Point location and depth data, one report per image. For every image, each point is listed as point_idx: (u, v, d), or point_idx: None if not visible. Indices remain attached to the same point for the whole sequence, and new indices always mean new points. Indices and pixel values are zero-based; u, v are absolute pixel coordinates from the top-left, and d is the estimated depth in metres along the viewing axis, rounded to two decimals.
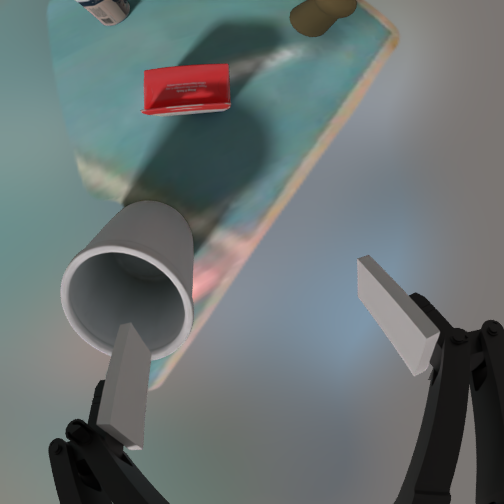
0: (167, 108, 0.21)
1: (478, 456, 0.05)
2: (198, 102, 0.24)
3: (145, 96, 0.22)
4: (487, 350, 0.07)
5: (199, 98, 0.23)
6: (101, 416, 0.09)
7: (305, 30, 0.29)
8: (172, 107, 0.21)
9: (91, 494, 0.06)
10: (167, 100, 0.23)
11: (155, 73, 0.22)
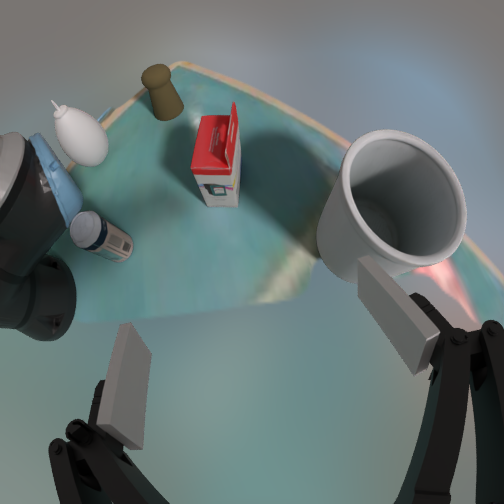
0: (228, 135, 0.29)
1: (478, 456, 0.05)
2: None
3: (214, 167, 0.31)
4: (487, 350, 0.07)
5: (226, 131, 0.32)
6: (101, 416, 0.09)
7: (178, 108, 0.46)
8: (228, 131, 0.29)
9: (91, 494, 0.06)
10: (222, 151, 0.31)
11: (196, 159, 0.31)
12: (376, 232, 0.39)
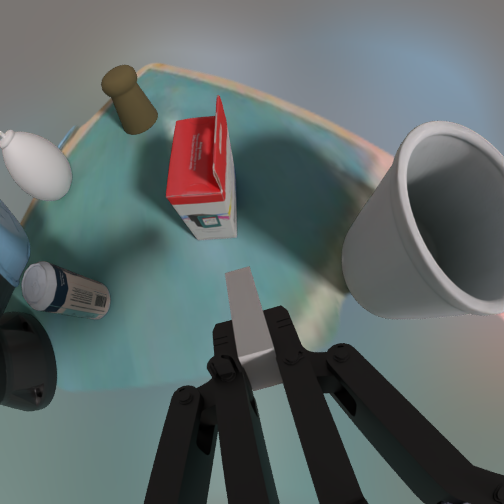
0: (215, 143, 0.19)
1: (395, 469, 0.07)
2: None
3: (199, 192, 0.21)
4: (343, 380, 0.09)
5: (211, 138, 0.23)
6: (242, 348, 0.11)
7: (150, 117, 0.37)
8: (215, 138, 0.19)
9: (198, 458, 0.08)
10: (208, 167, 0.22)
11: (172, 183, 0.22)
12: None
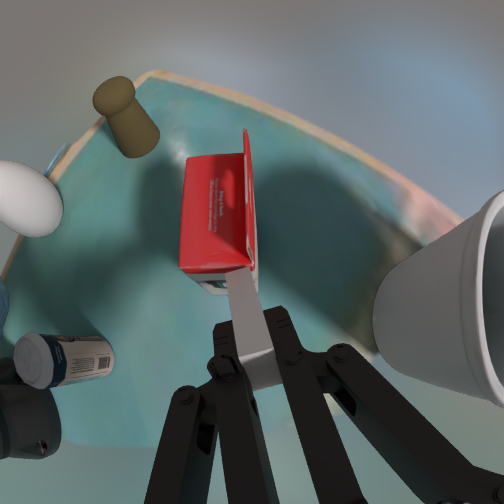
0: (247, 203, 0.15)
1: (395, 469, 0.07)
2: (241, 187, 0.18)
3: (223, 263, 0.17)
4: (343, 380, 0.09)
5: (235, 186, 0.18)
6: (242, 348, 0.11)
7: (151, 138, 0.33)
8: (246, 195, 0.15)
9: (198, 458, 0.08)
10: (234, 229, 0.17)
11: (186, 249, 0.17)
12: None
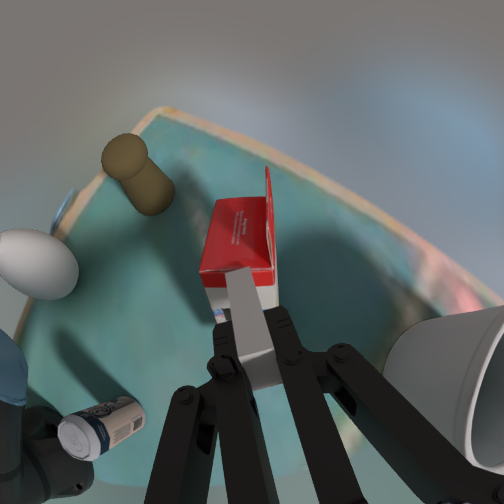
0: (268, 203, 0.17)
1: (395, 469, 0.07)
2: (263, 216, 0.21)
3: (243, 267, 0.17)
4: (343, 380, 0.09)
5: (258, 215, 0.21)
6: (241, 348, 0.11)
7: (167, 196, 0.33)
8: (267, 199, 0.17)
9: (198, 458, 0.08)
10: (255, 243, 0.19)
11: (208, 257, 0.18)
12: None
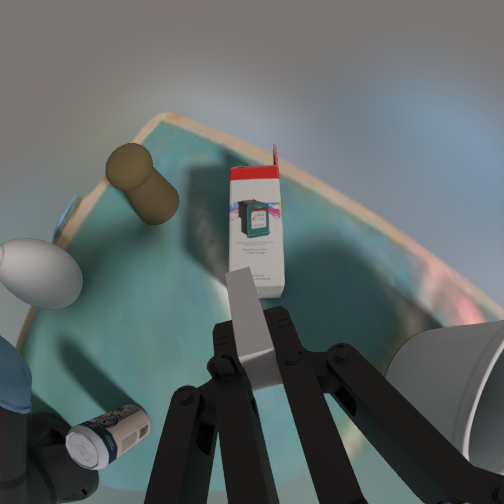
0: None
1: (395, 469, 0.07)
2: None
3: (258, 166, 0.27)
4: (343, 380, 0.09)
5: None
6: (242, 348, 0.11)
7: (171, 205, 0.34)
8: None
9: (198, 458, 0.08)
10: None
11: None
12: None
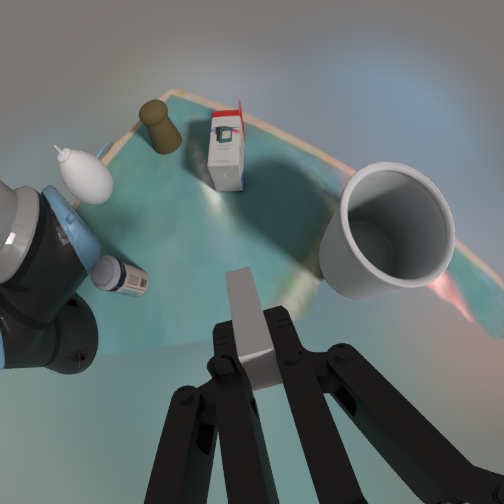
0: None
1: (395, 469, 0.07)
2: None
3: (229, 110, 0.43)
4: (343, 380, 0.09)
5: None
6: (242, 348, 0.11)
7: (176, 141, 0.50)
8: (240, 110, 0.47)
9: (198, 458, 0.08)
10: None
11: None
12: (373, 250, 0.43)
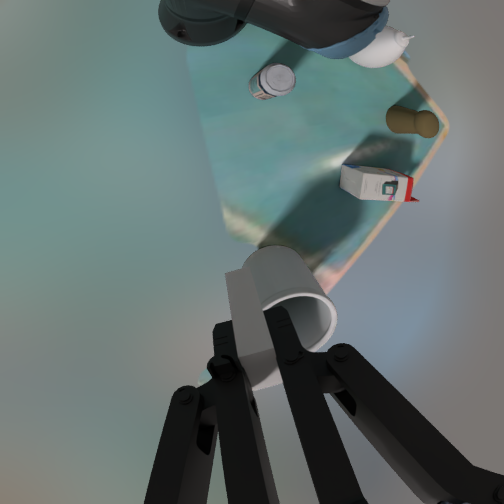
0: None
1: (395, 469, 0.07)
2: None
3: (411, 192, 0.45)
4: (343, 380, 0.09)
5: None
6: (242, 348, 0.11)
7: (395, 130, 0.46)
8: (411, 197, 0.49)
9: (198, 458, 0.08)
10: None
11: None
12: None
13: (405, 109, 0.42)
